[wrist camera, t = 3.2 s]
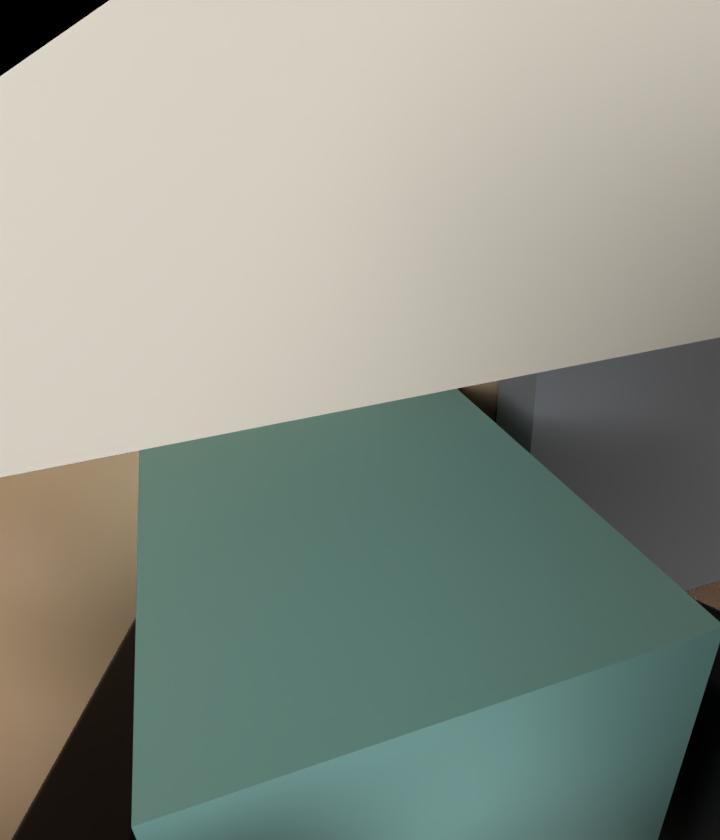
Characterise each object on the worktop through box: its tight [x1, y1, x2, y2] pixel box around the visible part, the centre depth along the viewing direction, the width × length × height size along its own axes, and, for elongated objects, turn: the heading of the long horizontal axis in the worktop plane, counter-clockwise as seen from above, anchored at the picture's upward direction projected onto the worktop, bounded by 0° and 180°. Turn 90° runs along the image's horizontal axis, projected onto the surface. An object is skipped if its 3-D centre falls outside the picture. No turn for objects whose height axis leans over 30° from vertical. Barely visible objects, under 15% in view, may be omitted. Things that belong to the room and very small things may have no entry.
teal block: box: [131, 389, 720, 840], centre depth 7 cm, size 4×4×5 cm
